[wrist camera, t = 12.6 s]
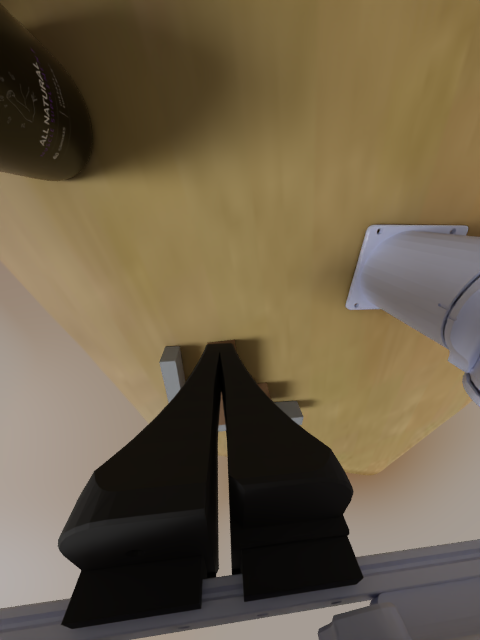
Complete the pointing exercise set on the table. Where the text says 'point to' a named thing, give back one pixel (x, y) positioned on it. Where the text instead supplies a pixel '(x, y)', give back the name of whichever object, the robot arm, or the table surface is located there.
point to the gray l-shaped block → (176, 380)
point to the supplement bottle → (38, 109)
